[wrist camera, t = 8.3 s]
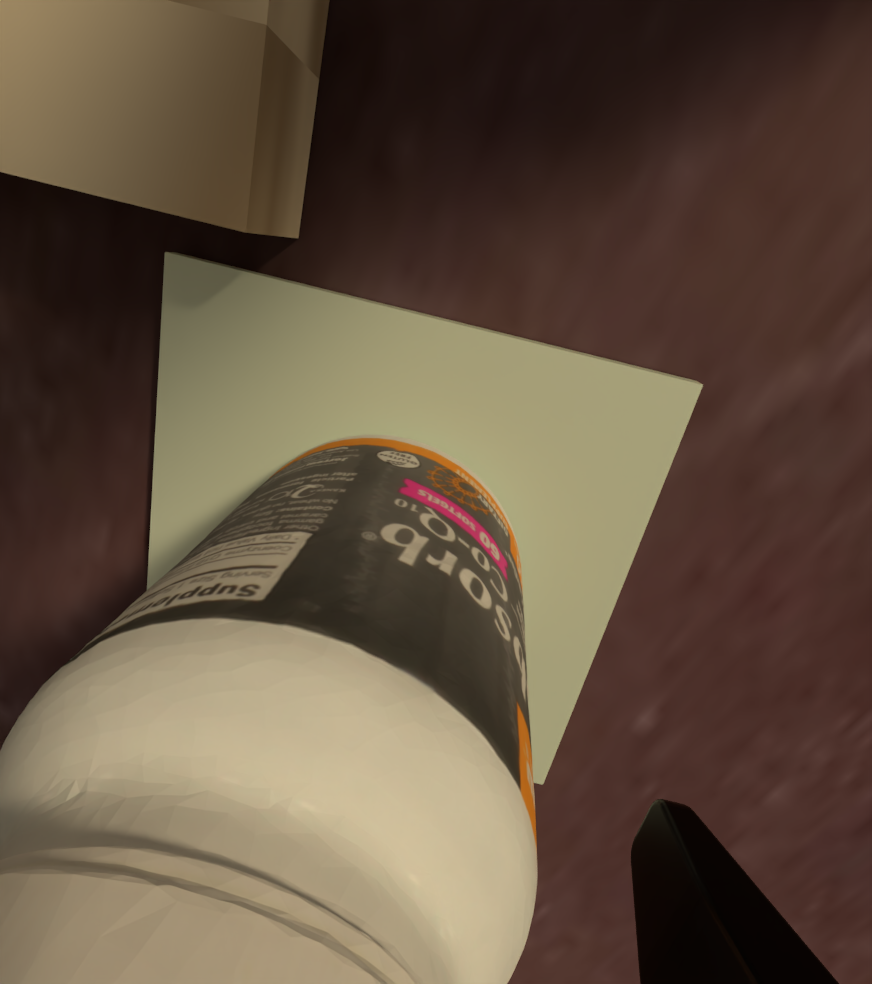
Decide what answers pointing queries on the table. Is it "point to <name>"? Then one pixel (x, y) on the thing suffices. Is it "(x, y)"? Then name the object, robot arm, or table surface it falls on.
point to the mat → (417, 438)
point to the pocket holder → (166, 103)
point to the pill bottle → (290, 749)
